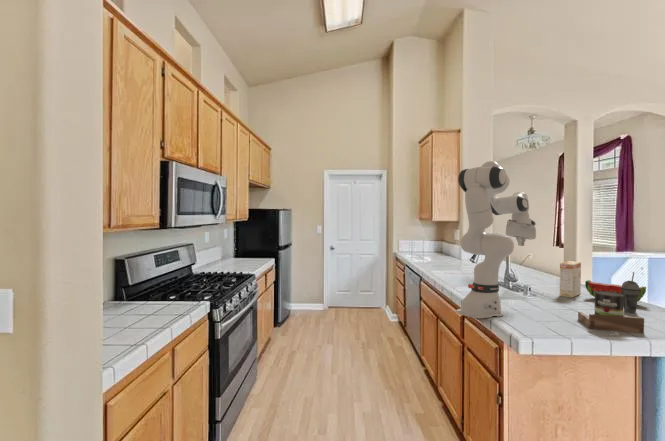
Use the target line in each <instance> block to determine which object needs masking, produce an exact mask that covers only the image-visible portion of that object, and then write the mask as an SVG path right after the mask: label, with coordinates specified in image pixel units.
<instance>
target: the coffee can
mask: <svg viewBox="0 0 665 441" xmlns="http://www.w3.org/2000/svg"><path fill="white" fill-rule="evenodd" d="M623 306H624V295H623V294H620V293H615V292H608V291H595V297H594V311H593V312H594V313H593V314H599V315H613V316H623V315H624V307H623Z"/></svg>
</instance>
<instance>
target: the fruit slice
mask: <svg viewBox="0 0 665 441" xmlns="http://www.w3.org/2000/svg"><path fill="white" fill-rule="evenodd" d="M584 282H585V283H584V286H585V289H586V291H587V292H588V293H589V295H590V296H593V298H595V291H608V292H615V293H620V294H622V289H621V287H622V284H621V285H620V284H613V283H610V284H609V283H602V282H595V281H591V280H589V279H587V280H585V281H584ZM639 289H640V290H639V294H638V300H637V303H638V302H639V301H641V299H642V298H643V297H644V296H645V294H646V292H647V286H639Z"/></svg>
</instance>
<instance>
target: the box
mask: <svg viewBox="0 0 665 441" xmlns="http://www.w3.org/2000/svg"><path fill="white" fill-rule="evenodd" d="M577 312H578V314H577V320H578V321H579V322H581V323H582V324H583V325H585V326H586V327H587V328H589V330H600V331H612V332H613V331H614V332H626V333H638V334H639V333H641V334H644V333H645V318H644V317H641V316H640V317H639V316H629V315H628V314H623V316H613V315H599V314H594V313H589V314H588V315H587V314H585V313H584V312H582V311H577Z"/></svg>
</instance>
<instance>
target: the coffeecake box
mask: <svg viewBox="0 0 665 441" xmlns="http://www.w3.org/2000/svg"><path fill="white" fill-rule="evenodd" d="M581 286H582V262H581V261H575V260H574V261H573V260H568V261H564V262H560V263H559V296H560V297H565V296H566V297H565V298H571V297H572V298H574V297H577V296H579V295H581V294H582V292H581V291H582V290H581V289H582V288H581Z"/></svg>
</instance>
